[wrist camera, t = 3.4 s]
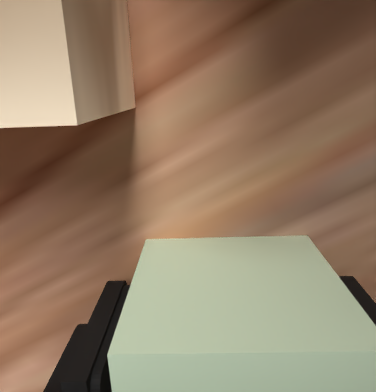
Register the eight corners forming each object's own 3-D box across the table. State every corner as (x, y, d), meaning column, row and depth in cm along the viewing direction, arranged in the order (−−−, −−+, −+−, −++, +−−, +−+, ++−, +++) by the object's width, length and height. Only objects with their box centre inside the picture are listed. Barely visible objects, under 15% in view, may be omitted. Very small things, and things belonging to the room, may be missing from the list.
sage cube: (146, 238, 11) (107, 354, 6) (306, 234, 11) (394, 351, 6) (156, 366, 12) (131, 541, 8) (297, 365, 12) (362, 542, 7)
